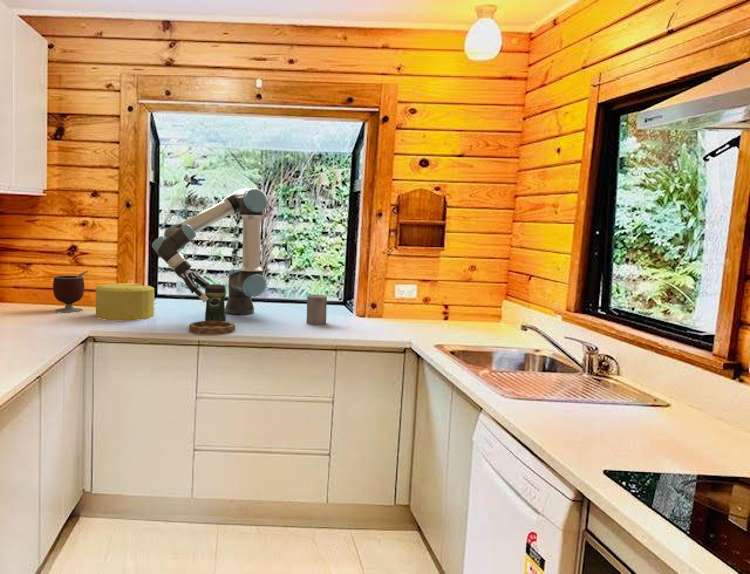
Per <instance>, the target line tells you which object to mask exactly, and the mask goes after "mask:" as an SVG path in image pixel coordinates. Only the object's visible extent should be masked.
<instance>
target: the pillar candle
mask: <svg viewBox="0 0 750 574" xmlns="http://www.w3.org/2000/svg"><path fill="white" fill-rule="evenodd" d="M327 299H328V297H327V295H325V294H308V295H307V296H306V324H307V325H311V326H312V325H313V326H319V325H320V326H321V325H326V324H327V304H328V303H327Z"/></svg>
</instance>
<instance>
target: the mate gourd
mask: <svg viewBox="0 0 750 574" xmlns="http://www.w3.org/2000/svg"><path fill="white" fill-rule="evenodd" d="M86 273H88V270H86V271H82V272H81V273H79V274H78V275H56V276H55V275H54V276H53V281H52V292H53V297H54V298H55V299H56V300H57V301H58V302H61V303H64V305H65V306H64V307H61V308H55V309H54V310H55V311H56V312H55V311H54V312H55V313H58V312H61V313H60V314H72V313H71V312H76V313H81V312H83V311H84V310H83V308H79V307H74V306H73V304H75V303H77V302H79V301H81V300H82V298H83V296H84V293H85V281H84V276H83V275H85V274H86ZM80 311H81V312H80Z"/></svg>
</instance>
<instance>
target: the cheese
mask: <svg viewBox="0 0 750 574" xmlns="http://www.w3.org/2000/svg"><path fill="white" fill-rule="evenodd" d="M153 316H154V317H155V288H154V287H153V286H151V285H143V284H141V283H130V282H129V283H127V282H124V283H118V282H117V283H106V284H101V285H98V286H97V287H96V288H95V318H96V319H98V318H100V319H99V320H101V319H106V320H105V321H109V320H135V321H138V320H137V319H144V320H147V319H146V318H149V319H151V318H150V317H153ZM154 317H153V318H154Z"/></svg>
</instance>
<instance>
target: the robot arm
mask: <svg viewBox="0 0 750 574" xmlns="http://www.w3.org/2000/svg"><path fill="white" fill-rule="evenodd" d="M267 204H268V199H267V196H266V193H265V192H264V191H263V190H261V189H260V188H255V187H249V188H240V189H238V190H236V191H234V192H233V193H231V194H229V195H227V196H225V197H224V198H223V199H222V201H220V202H219V203H217V204H215V205H213V206H211V207H209V208H207V209H205V210H203V211H201V212H200V213H197V214H196V215H194V216H192V217H189V218H188V219H186V220H184V221H182V222H180V223H179V224H176V225H174V226H173V227H172V226H171V227H170V226H169V227H167V228H166V229H165V230H164V232H163V235H161V236H159V237H157V238H156V239H155V240H154V241H152V243H151V247H152V249H153V250H154V251H155V252H156V254H157V255H158V256H159V257H160V258H161V259H162V260H163V261H164V262H165V263H166V264H167V265H168V268H170V269H171V270H173V272H174V273H175V274H176V276H178V277H180V278H181V279H182V281H183V282H184V284H185V285H186V287H187V288H188V289H189V291H190V292H191V294H195V295H196V296H197V297H198V298H199V299H200V300H201V302H203V304H206V301H207V300H208V299H209V298H208V297H207V296H206V295H205V292H203V291H202V290H201V289H200V288H198V286H197V285H199V286H200V287H202V288H203V290H204V291H205V289H206V286H207V285H211V284H210V282H208V281H207V280H206V279H205V278H203V277H202V276H201V275H200V274H198V272H196V271H195V270H194V269H193V270H191V268H192V264H191V263H189V261H188V260H186V257H184V256H183V255H182V254H181V252H179V250H180V249H182V248H183V247H184V246H186V245H187V244H188V243H191V242H192V241H193V239H195V238H196V236H197V234H196V233H198V232H200V231H202V230H204V229H206V228H208V227H209V226H211V225H213V224H214V223H215V224H216V223H217V222H219V221H221V220H222V219H224V218H226V217H228V216H235V215H237V214H239V216H240V217H241V218H242V266H241V268H235V269H234V268H233V269H230V270H229V271H228V298H227V301H226V304H225V312H226V313H225V314H228V313H231V314H230V315H251V314H252V315H253V314H254V313H255V307H254V304H253V300H252V298H256V297H259V296H261V295H262V294H263V293H264V292H265V290H266V288H267V281H266V279H265V277H264V276H263V275H264V270H263V268H262V267H261V266H260V263H261V256H260V255H261V219H262V218H263V217H264V211H265V209H266V208H267V206H268V205H267Z"/></svg>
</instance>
